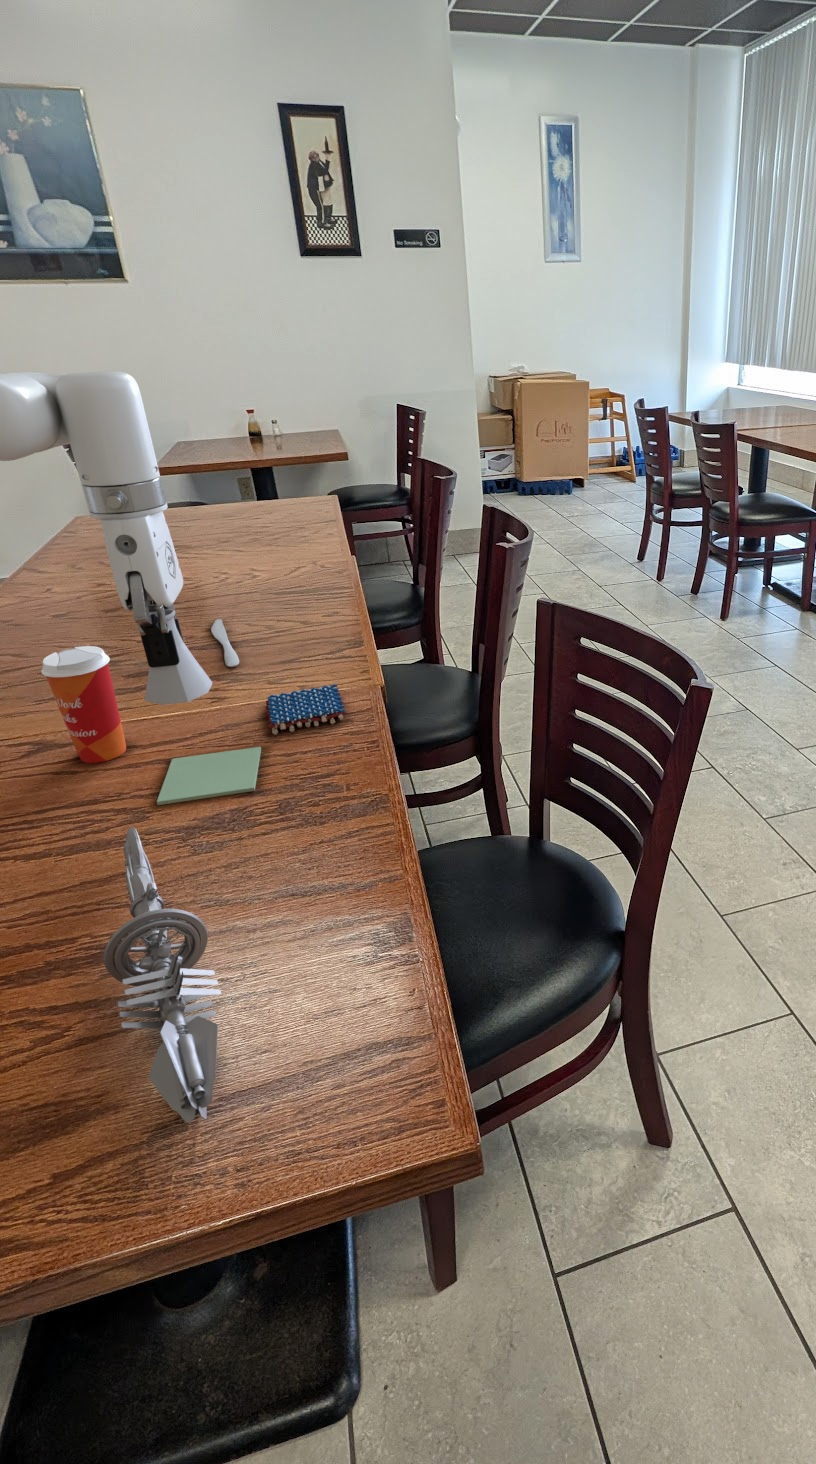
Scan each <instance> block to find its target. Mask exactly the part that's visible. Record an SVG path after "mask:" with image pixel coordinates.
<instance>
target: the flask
mask: <svg viewBox="0 0 816 1464" xmlns="http://www.w3.org/2000/svg"><path fill="white" fill-rule="evenodd" d="M175 610H176V609H175ZM175 610H170V609H164V611H165V616H166V620H167V624H168V630H172V632H173V636H174V640H175V644H176V648H177V652H178V656H179V660H180V661H179V663H178V664H177V665H172V666H163V667H154V668H152V667H150V666H149V665H148V674H147V675H148V676H147V681H146V686H145V694H144V702H148V703H152V704H156V705H160V706H165V705H174V704H184V703H190V702H192V701H194V700H196V699H198V698H200V697H202V696H204V695H206V694H208V693H209V692H210V689H211V687H212V685H213V681H212V679H210V677H209V675H208V674H207V673H206V672H205V670H204V669H203V667H202V666H201V664H199V662H198V661H197V660H196V658H195V657H194V655H193V654H192V652H191V651H190V650H189V648H188V646H187V644H185V641H184V639H183V640H182V638H181V636H180V634H179V632H178V630H177V628H176V624H175V621H174V619H175V618H174V616H175ZM150 613H151V614H155V615H156V616H157V617H158V614H157V611H155V612H150ZM183 641H184V642H183Z"/></svg>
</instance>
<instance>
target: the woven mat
mask: <svg viewBox="0 0 816 1464" xmlns="http://www.w3.org/2000/svg"><path fill="white" fill-rule="evenodd" d="M339 689H340V688H338V683H337V684H336V683H335V684H332V685H329V684H328V685H323V686H320V687H319V688H317V687H312V688H308V689H301V690H292V691H289V692H288V693H285V692H281V693H280V694H279V693H278V694H271V695H269V696H268V697H267V700H265V704H266V706H265V709H266V714H267V718H268V719H267V720H268V721H267V723H268V727H269V729H271V731H272V734H273V735H275V736H276V735H278V734H279V730H278V729H280V730H281V731H284V730H287V728H288V730H289V732H292V733H293V732H295V726H294V725H296V726H297V727H298V729H299V728H302V727H303V723H304V724H305V727H306V728H310V727H311V723H312V722H313V726H314V727H319V724H320V723H319V722H321V723H327V722H328V720H329V722H330V724H331V725H335V723H336V720H335V718H336V717H337V719H338V720H340V721H342V720H343V719H344V715H347V712H346V709H345V705H344V704H343V703H344V701H343V700H342V696H341V692H340V691H339Z"/></svg>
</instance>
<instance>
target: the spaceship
mask: <svg viewBox="0 0 816 1464" xmlns="http://www.w3.org/2000/svg"><path fill="white" fill-rule="evenodd" d="M123 856H124V859H125V860H124V867H125V882H126V890H127V895H129V896H128V900H129V901H130V907H129V914H130V915H131V916H132V917H133V918H130V919H129V920H128V921H126V922H125V923H123V924H122V925H121V926H120V927H119V928H118V929H117V930H116V931H115V932H114V933H113V934H112V936H111V937H110V938H109V940H108V942H107V943H106V946H105V949H104V953H103V964H104V967H105V969H106V971H107V973H108V974H109V975H110V976H111V977H112V978H113V979H115V980H116V981H118V982H119V983H122V985H124V986H125V985H128V986H132V987H131V988H130V987H129V988H125V989H124V995H125V996H129V995H133V994H139V993H143V992H149V991H153V990H154V991H155V992H153V993H149V994H145V995H142V996H138V997H134V998H129V999H126V1000H119V1001H117V1006H118V1007H120V1008H121V1007H122V1008H152V1009H153V1008H154V1009H158V1010H135V1011H134V1010H133V1011H132V1010H131V1011H130V1010H129V1011H128V1010H127V1011H119V1017H120V1018H136V1019H137V1018H138V1019H139V1018H142V1019H143V1018H145V1019H157V1020H153V1021H152V1020H150V1021H149V1020H148V1021H122V1022H120V1023H121V1028H123V1029H159V1035H160V1037H161V1040H162V1041H161V1042H162V1043H161V1044H160V1045H159V1046H158V1047H157V1051H156V1053H155V1057H154V1060H153V1062H152V1065H151V1068H150V1070H149V1071H150V1072H149V1073H148V1076H147V1077H148V1079H149V1081H150V1082H151V1083H152V1084H153V1086H154V1087H155V1089H156V1090H157V1092H158V1093H159V1094H160V1096H161V1097H162V1098H163V1099H164V1100H165V1102H166V1103H167V1104H168V1106H169V1107H170V1108H171V1110H172V1111H173V1112H177V1114H178V1115H179V1116H180V1117H181V1118H182V1120H183V1121H184V1122H185V1123H186V1124H189V1123H191V1122H192V1121H193V1120H195V1117H197V1116H198V1115H200V1116H201V1117H202V1118H203V1120H204V1119H205V1120H207V1119H208V1115H207V1113H208V1111H207V1107H208V1106H209V1105H211V1104H212V1102H213V1092H214V1091H213V1090H214V1080H215V1079H216V1076H217V1057H218V1056H217V1055H218V1038H219V1024H218V1023H216V1022H215V1021H214V1022H213V1021H211V1020H208V1018H212V1017H215V1016H216V1015H217V1013H216V1010H210V1011H204V1012H200V1013H196V1014H192V1015H187V1016H185V1014H187V1013H191V1012H194V1011H197V1010H201V1009H206V1008H209V1007H212V1006H213V1005H214V1004H213V1001H212V1000H207V1001H206V1000H205V1001H203V1002H198V1003H193V1004H189V1005H186V1003H188V1002H192V1001H195V1000H199V999H203V998H206V997H209V996H210V995H211V996H213V995H214V996H215V995H216V996H217V995H219V996H220V995H222V991H221V989H217V988H199V987H197V988H196V987H182V986H217V985H219V982H218V979H212V978H211V979H209V978H192V977H191V978H190V977H185V976H216V972H215V970H213V969H199V968H198V969H197V968H193V967H194V966H195V965H196V964H197V963H198V962H199V961H200V959H201V958H202V956H203V954H205V953H204V952H205V951H206V948H207V946H208V942H209V932H208V928H207V926H206V924H205V923H204V921H203V920H202V919H201V918H200V917H199V916H197V915H196V914H194V913H192V912H190V911H187V910H183V909H179V908H164V907H165V901H164V899H163V898H162V897H161V896H160V894H159V892H158V887H157V884H156V882H155V877H154V873H153V870H152V866H151V863H150V860H149V858H148V856H147V854H146V852H145V850H144V848H143V843H142V841H141V838H140V835H139V833H138V831H137V829H136V828H135V827H133V826H129V828H127V831H126V836H125V840H124V843H123ZM169 930H174V931H176V932H175V933H174V934H172V935H171V936H169V937H168V936H167V935H168V932H169ZM182 936H184V938H183V939H184V941H183V943H174V944H173V942H175V941H177V940H178V939H179V938H181V937H182ZM167 937H168V938H167ZM175 937H176V938H175ZM173 938H175V939H173ZM139 939H141V940H142V941H143V943H144V945H145V946H135V947H134V945H135V943H136V941H137V940H139ZM172 939H173V940H172ZM172 950H177V951H176V952H174V951H173V953H172ZM129 953H144V955H143V956H142V957H140V958H139V959H137V960H134V959H133V958H131V957H130V955H129Z"/></svg>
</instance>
